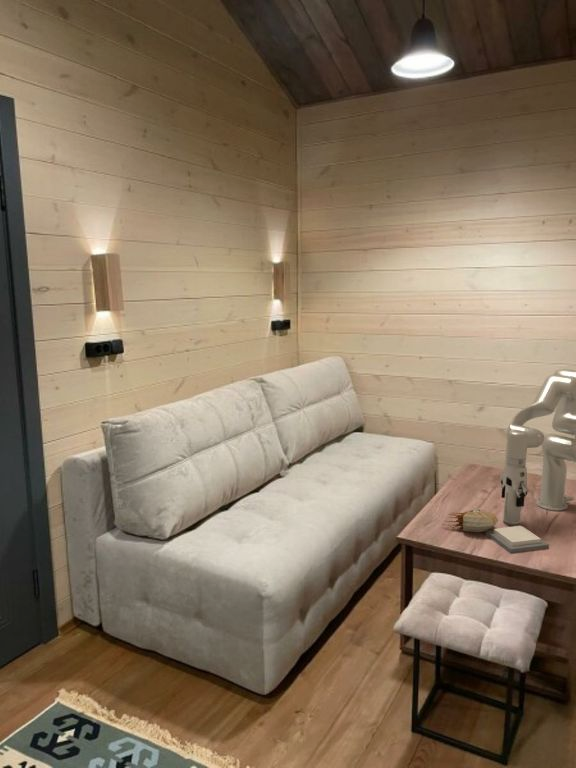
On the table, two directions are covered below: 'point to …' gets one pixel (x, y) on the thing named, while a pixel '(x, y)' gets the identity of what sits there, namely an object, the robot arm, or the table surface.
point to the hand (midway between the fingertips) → (512, 501)
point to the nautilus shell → (474, 520)
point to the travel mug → (511, 506)
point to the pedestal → (516, 539)
